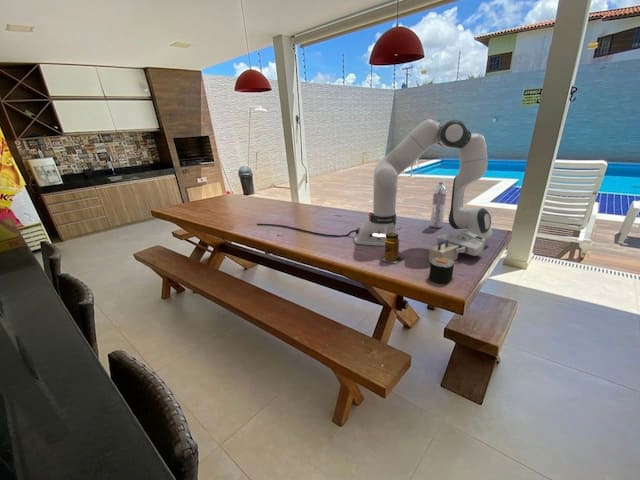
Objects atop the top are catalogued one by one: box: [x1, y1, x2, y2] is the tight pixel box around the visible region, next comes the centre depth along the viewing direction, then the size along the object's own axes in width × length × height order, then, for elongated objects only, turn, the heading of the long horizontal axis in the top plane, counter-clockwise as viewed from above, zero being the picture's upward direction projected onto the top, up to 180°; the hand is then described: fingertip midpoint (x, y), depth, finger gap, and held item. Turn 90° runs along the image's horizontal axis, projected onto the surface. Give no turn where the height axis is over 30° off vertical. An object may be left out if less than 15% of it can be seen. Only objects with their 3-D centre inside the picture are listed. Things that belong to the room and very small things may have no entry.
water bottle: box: [429, 181, 447, 229], centre depth 171 cm, size 7×7×25 cm
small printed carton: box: [428, 240, 460, 264], centre depth 133 cm, size 12×6×10 cm, turn 125°
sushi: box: [428, 258, 455, 285], centre depth 119 cm, size 8×8×8 cm
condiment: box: [380, 232, 404, 264], centre depth 137 cm, size 7×8×12 cm
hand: (447, 248), depth 134 cm, fingers closed on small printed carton, 6 cm apart
